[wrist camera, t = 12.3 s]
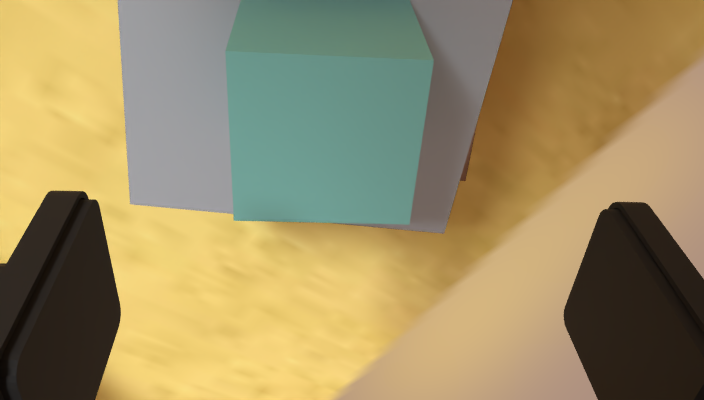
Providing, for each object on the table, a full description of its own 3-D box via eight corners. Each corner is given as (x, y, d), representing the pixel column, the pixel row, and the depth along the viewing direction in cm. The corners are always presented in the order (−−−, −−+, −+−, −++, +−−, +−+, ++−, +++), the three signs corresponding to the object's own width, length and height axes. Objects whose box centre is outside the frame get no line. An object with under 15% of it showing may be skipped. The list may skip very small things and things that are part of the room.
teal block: (244, -12, 19) (225, 51, 15) (408, -3, 19) (433, 60, 15) (248, 133, 22) (233, 220, 18) (391, 138, 22) (409, 224, 18)
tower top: (149, -180, 21) (107, -165, 17) (499, -122, 22) (541, -95, 18) (158, 137, 27) (130, 204, 23) (426, 166, 29) (443, 233, 25)
